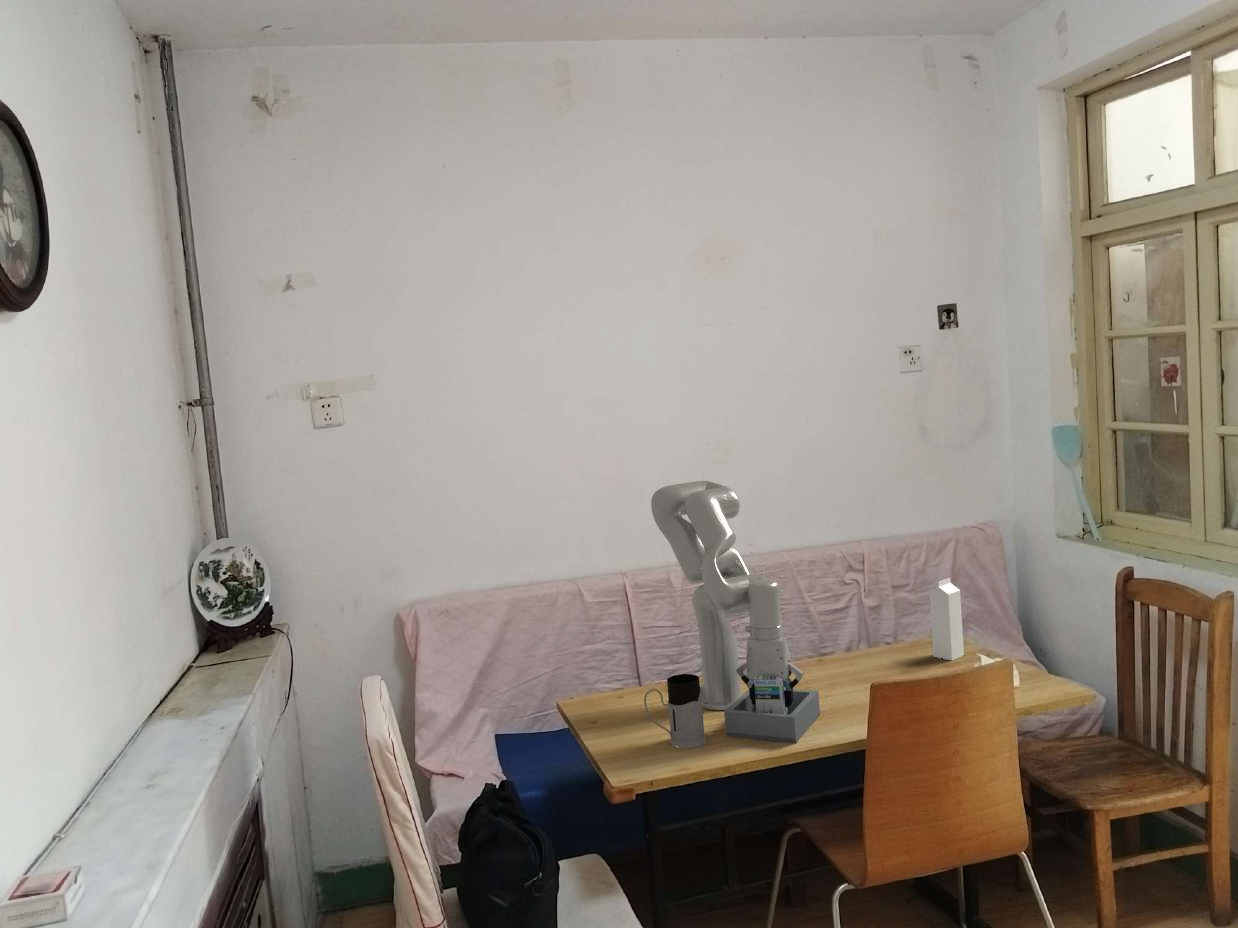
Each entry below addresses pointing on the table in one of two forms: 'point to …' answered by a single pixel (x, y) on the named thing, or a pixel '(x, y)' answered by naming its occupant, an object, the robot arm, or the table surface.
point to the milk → (946, 621)
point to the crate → (772, 718)
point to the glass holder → (683, 711)
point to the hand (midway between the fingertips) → (771, 703)
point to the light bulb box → (770, 694)
